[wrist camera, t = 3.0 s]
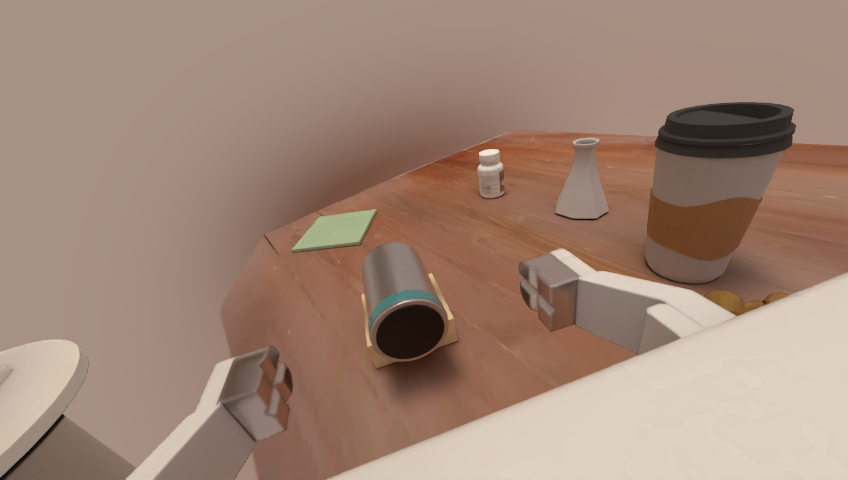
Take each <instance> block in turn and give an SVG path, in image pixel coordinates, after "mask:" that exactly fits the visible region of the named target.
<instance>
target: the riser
mask: <svg viewBox="0 0 848 480" xmlns="http://www.w3.org/2000/svg"><path fill="white" fill-rule="evenodd" d="M428 275H429V278H430V280H431V282H432V284H433V286H434V288H435V291H436V293H437V295H438V297H439V299H440V301H441V302H442V304H443V306H444V308H445V311H446V313H447V316H448V320H449V328H448V333H447V335H446V337H445V339H444V341H443V342H442V343H441V344H440V346H439V347H441V346H444V345H447V344H450V343H453V342H455V341H458V338H457V333H456V328H455V323H454V318H453V316H452V314H451V312H450V310H449V308H448V306H447V303H446V301H445V299H444V297H443V295H442V293H441V291H440V289H439V287H438V285H437V283H436V281H435V279H434V277H433V275H432V273H430V274H428ZM361 296H362V305H363V315H364V324H365V333H366V342H367V348H368V350H369V353H370V355H371V358H372V360H373V362H374V365H375V367H376V368H380V367H383V366H386V365H388V364H391V363H394V362H397V361H391V360H388V359H385V358H383V357H382V356H380V355H379V354H378V353H377V352H376V351H375V350H374V348H373V347H372V344H371V341H370V337H369V329H368V316H367V308H366V300H365V294H363V295H361Z"/></svg>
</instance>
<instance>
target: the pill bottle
mask: <svg viewBox="0 0 848 480" xmlns="http://www.w3.org/2000/svg"><path fill="white" fill-rule="evenodd" d="M499 159H500V155H499V150H496V149H489V150H484V151H481V152H480V153H479V160H480V163H481V164H480V165H479V166H478V178H479V188H480V195H481V196H482V197H484V198H496V197H499V196H501V195H503V194H504V192H505V190H504V173H503V164H502V163H501V162H499Z"/></svg>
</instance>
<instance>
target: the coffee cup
mask: <svg viewBox="0 0 848 480" xmlns="http://www.w3.org/2000/svg"><path fill="white" fill-rule="evenodd" d="M793 111H794V109H792V108H791V107H788V106H784V105H780V104H772V103H755V102H750V103H749V102H739V103H738V102H737V103H719V104H709V105H701V106H695V107H689V108H685V109H681V110H677V111H675V112H672V113H670V114H669V115H668V116H667V119H666V122H665V125H664V126H662V127H661V128H660V129H659V132H658V134H659V135H658V137H657V139H656V141H655V146H656V147H657V152H656V161H655V170H654V179H653V187H652V188H651V195H650V204H649V214H648V223H647V241H646V250H645V259H646V261H647V263H648V265H649V267H650V268H651V269H652V270H653V271H654V272H656V273H657V274H659V275H661V276H663V277H665V278H668V279H671V280H675V281H678V282H684V283H705V282H709V281H712V280H714V279H715V278H717V277H719V276H720V275H722V274H723V273H724V272H725V270H726V268H727V266H728V264H729V262H730V260H731V258H732V256H733V254H734V252H735V250H736V248H737V247H738V246H739V244H740V242H741V240H742V238H743V236H744V234H745V232H746V230H747V228H748V226H749V224H750V222H751V220H752V218H753V216H754V214H755V212H756V210H757V208H758V206H759V204H760V202H761V200H762V195H763V193H764V191H765V189H766V187H767V185H768V183H769V181H770V179H771V177H772V175H773V173H774V171H775V169H776V167H777V165H778V163H779V161H780V159H781V157H782V155H783V153H784V151H785V149H787V148H789V147H790V146H792V134H794V132H795V128H796V125H795V124H794V123H792V122H791V120H792V116H793Z"/></svg>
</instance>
